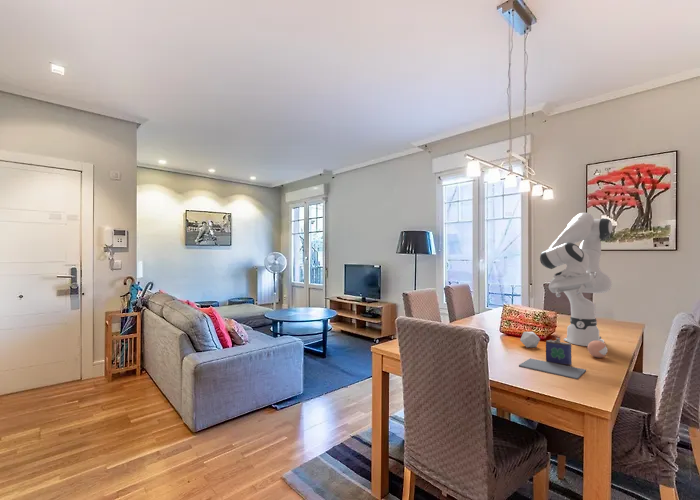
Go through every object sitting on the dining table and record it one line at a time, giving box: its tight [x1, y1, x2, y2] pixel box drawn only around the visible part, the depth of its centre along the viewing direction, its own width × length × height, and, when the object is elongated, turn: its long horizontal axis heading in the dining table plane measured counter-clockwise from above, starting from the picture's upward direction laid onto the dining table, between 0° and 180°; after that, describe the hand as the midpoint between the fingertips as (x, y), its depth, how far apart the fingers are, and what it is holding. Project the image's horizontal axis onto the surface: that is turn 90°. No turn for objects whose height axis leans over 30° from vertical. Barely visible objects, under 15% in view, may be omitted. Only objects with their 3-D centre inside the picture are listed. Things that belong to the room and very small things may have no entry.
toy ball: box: [587, 340, 608, 359], centre depth 162 cm, size 8×8×8 cm
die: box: [519, 331, 541, 349], centre depth 181 cm, size 8×9×10 cm
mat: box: [518, 358, 587, 380], centre depth 146 cm, size 14×22×1 cm, turn 43°
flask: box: [545, 337, 573, 367], centre depth 153 cm, size 10×3×12 cm, turn 51°
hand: (567, 294), depth 161 cm, fingers open, 8 cm apart
